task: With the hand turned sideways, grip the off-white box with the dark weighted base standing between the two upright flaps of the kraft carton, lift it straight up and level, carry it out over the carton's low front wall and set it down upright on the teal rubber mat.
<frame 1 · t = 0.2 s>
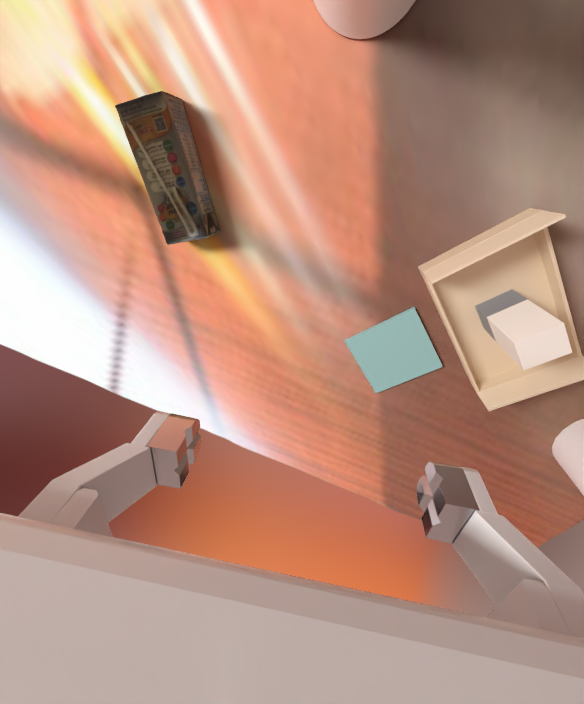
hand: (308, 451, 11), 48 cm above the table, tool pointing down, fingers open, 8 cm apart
mat: (393, 352, 62), on the table
beverage carton: (183, 175, 52), on the table
carton: (496, 308, 55), on the table
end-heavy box: (497, 309, 55), resting on carton
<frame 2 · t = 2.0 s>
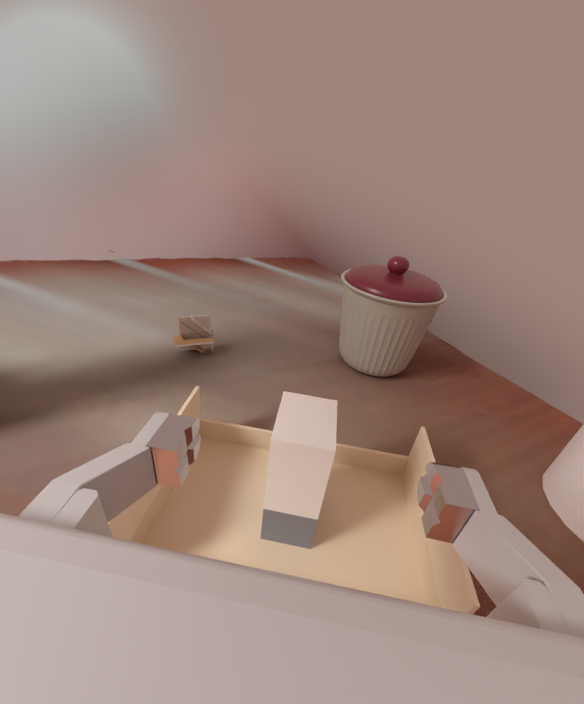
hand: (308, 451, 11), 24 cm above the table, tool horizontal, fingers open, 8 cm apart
canister 2: (370, 362, 64), on the table
architectural model: (197, 354, 60), on the table
carton: (289, 517, 34), on the table
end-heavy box: (289, 515, 34), resting on carton
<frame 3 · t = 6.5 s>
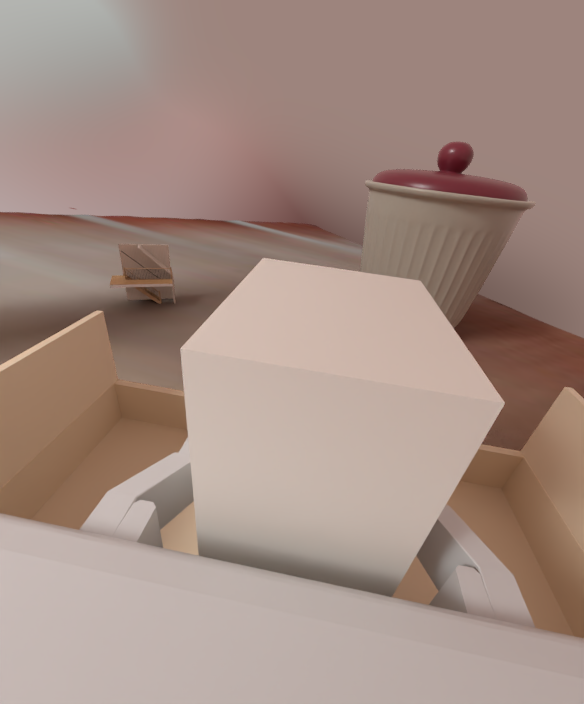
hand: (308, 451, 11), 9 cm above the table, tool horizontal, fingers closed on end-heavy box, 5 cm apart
canister 2: (403, 321, 45), on the table
architectural model: (152, 306, 41), on the table
carton: (283, 591, 15), on the table
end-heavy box: (284, 586, 15), point 1 cm above the table, touching carton, gripper
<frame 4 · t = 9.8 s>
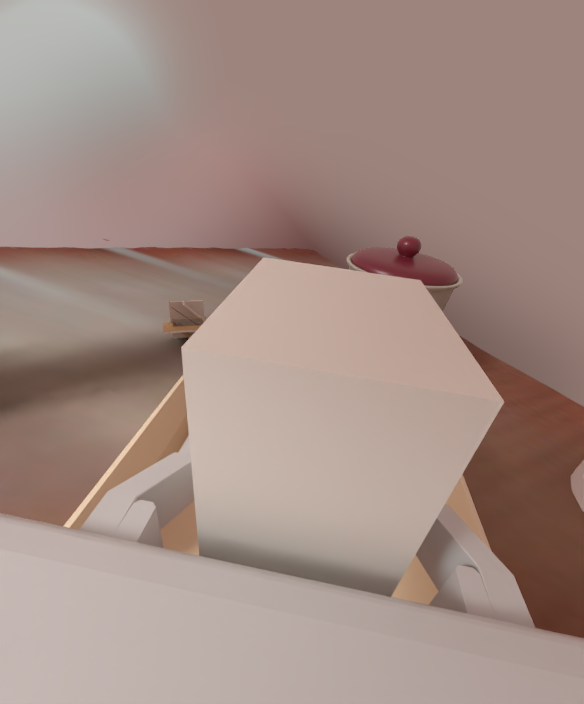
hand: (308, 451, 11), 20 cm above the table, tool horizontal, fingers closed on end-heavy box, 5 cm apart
canister 2: (376, 354, 59), on the table
architectural model: (190, 343, 56), on the table
carton: (287, 523, 30), on the table
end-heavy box: (284, 585, 15), point 12 cm above the table, touching gripper
when the fingers open (10 cm above the table, at t = 12.9 s): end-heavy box drops 1 cm, resting on mat.
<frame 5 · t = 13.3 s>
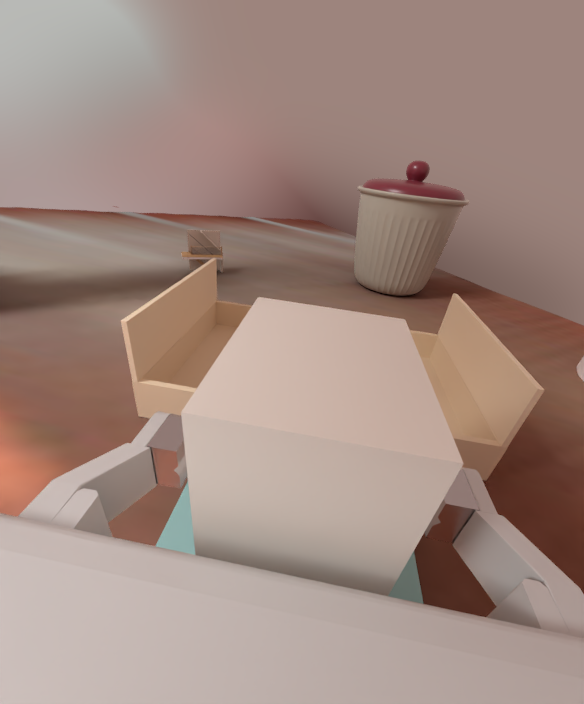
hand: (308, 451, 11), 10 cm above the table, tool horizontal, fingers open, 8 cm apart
canister 2: (386, 287, 62), on the table
architectural model: (206, 274, 58), on the table
mat: (280, 604, 16), on the table
carton: (314, 382, 32), on the table
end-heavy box: (279, 598, 15), point 1 cm above the table, touching mat
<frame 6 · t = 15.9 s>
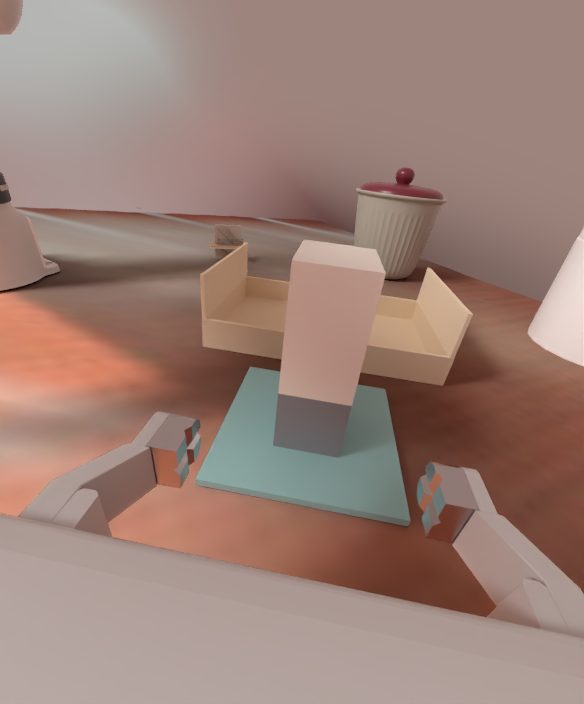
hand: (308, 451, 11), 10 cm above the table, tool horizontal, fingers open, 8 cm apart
canister 2: (380, 273, 73), on the table
architectural model: (229, 262, 70), on the table
mat: (309, 429, 27), on the table
carton: (323, 332, 43), on the table
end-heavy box: (309, 424, 26), point 1 cm above the table, touching mat
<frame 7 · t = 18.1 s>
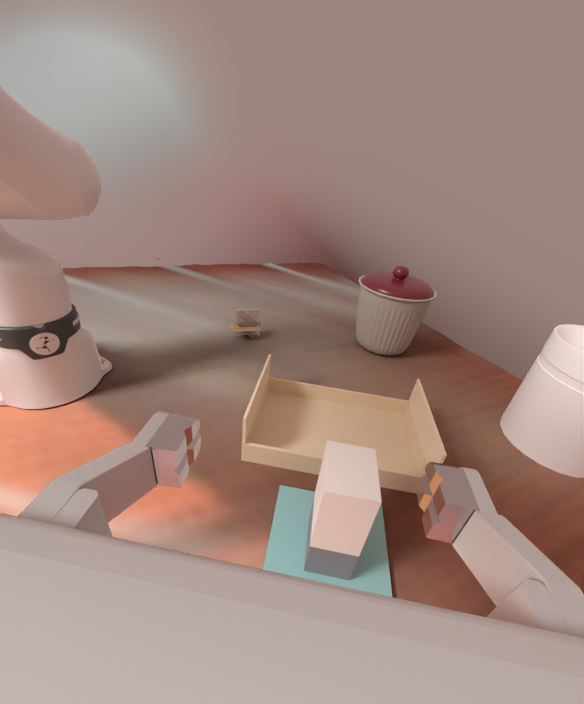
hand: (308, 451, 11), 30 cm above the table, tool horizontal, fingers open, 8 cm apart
canister 2: (379, 346, 83), on the table
architectural model: (247, 338, 80), on the table
mat: (327, 550, 37), on the table
canister: (547, 441, 58), on the table
carton: (333, 435, 53), on the table
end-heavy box: (327, 547, 37), point 1 cm above the table, touching mat
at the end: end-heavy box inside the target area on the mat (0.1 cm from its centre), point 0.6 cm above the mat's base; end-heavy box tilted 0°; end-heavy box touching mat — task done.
